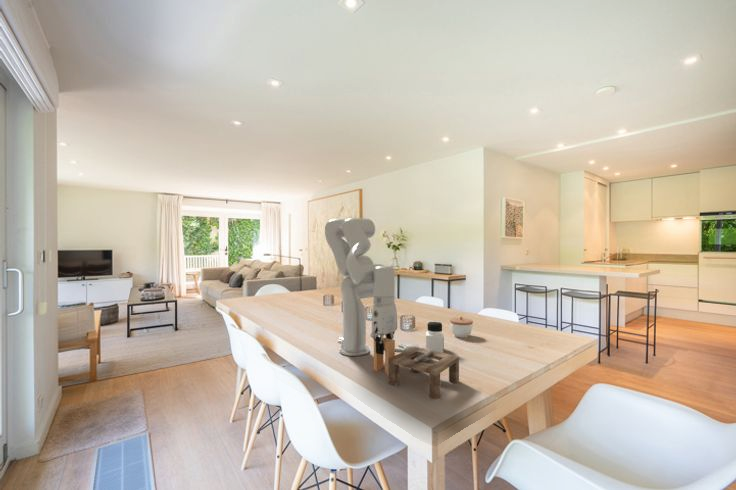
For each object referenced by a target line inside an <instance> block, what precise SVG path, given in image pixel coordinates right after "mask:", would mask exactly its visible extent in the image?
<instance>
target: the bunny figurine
mask: <svg viewBox="0 0 736 490" xmlns="http://www.w3.org/2000/svg"><path fill="white" fill-rule="evenodd" d="M412 347H418V348H423V349H426V347H424V346H419V345H418V344H415V343H409V344H407V345H405V344H403V343H398V347H395V353H402V352H404V351H406V350H408V349H410V348H412ZM427 350H429V349H427ZM410 359H411V358H410ZM431 360H433V359H432V358H428V357H425V358H423V359H422V360H420V362H423V363H427V362H428V361H431Z"/></svg>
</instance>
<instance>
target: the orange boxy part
mask: <svg viewBox="0 0 736 490" xmlns="http://www.w3.org/2000/svg"><path fill="white" fill-rule="evenodd" d="M378 337H379V338H380V336H378ZM395 342H396V340H395V339H394V338H393V339H388V338H386V337H383V343H384V354H383V355H381V354H378V353H376V342H375V341H374V340H373V371H376V372H377V371H380V370H382V369H383V368H384V374H386V375H389V358H391V357H393V356H395V355H396V352H395V348H396V344H395Z"/></svg>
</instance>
